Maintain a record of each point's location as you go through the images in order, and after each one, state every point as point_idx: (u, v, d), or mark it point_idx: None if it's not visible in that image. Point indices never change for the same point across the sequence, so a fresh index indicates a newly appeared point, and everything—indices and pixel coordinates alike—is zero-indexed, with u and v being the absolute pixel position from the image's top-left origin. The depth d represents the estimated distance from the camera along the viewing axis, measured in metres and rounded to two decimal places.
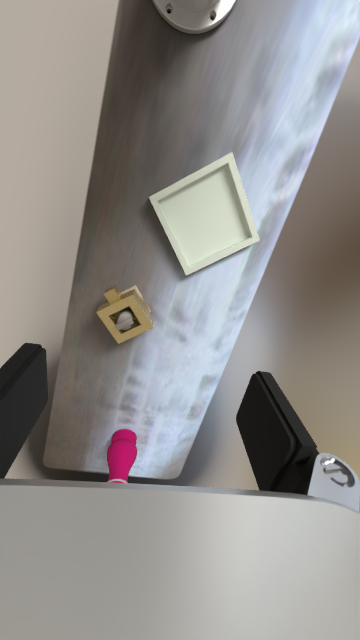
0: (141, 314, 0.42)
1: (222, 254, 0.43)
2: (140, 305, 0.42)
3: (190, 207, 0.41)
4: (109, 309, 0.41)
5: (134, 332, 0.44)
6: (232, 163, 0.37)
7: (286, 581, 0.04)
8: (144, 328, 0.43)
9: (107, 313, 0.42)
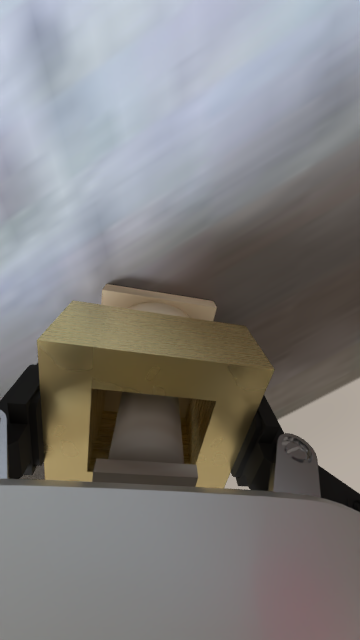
0: (56, 425, 0.08)
1: None
2: None
3: None
4: None
5: (153, 374, 0.08)
6: None
7: (286, 581, 0.04)
8: (87, 364, 0.07)
9: None
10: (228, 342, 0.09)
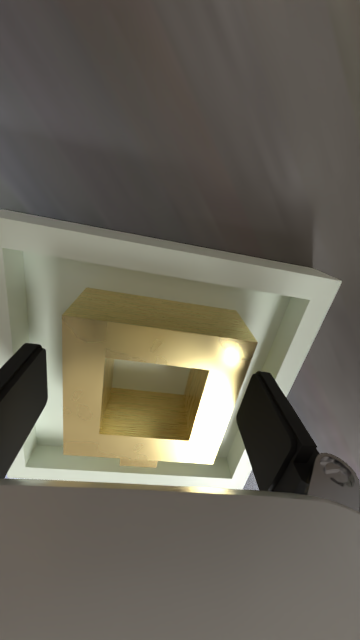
0: (74, 391, 0.10)
1: None
2: None
3: None
4: (169, 453, 0.12)
5: (156, 346, 0.09)
6: (223, 483, 0.16)
7: (286, 581, 0.04)
8: (102, 336, 0.09)
9: (185, 447, 0.12)
10: (220, 322, 0.10)
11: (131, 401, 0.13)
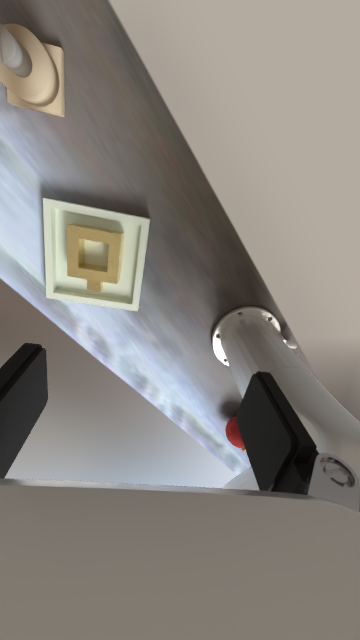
0: (70, 250, 0.34)
1: (49, 254, 0.35)
2: None
3: None
4: (101, 277, 0.36)
5: (92, 235, 0.33)
6: (129, 307, 0.40)
7: (286, 581, 0.04)
8: (77, 231, 0.33)
9: (106, 275, 0.36)
10: (114, 231, 0.34)
11: (90, 265, 0.37)
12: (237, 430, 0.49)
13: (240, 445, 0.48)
